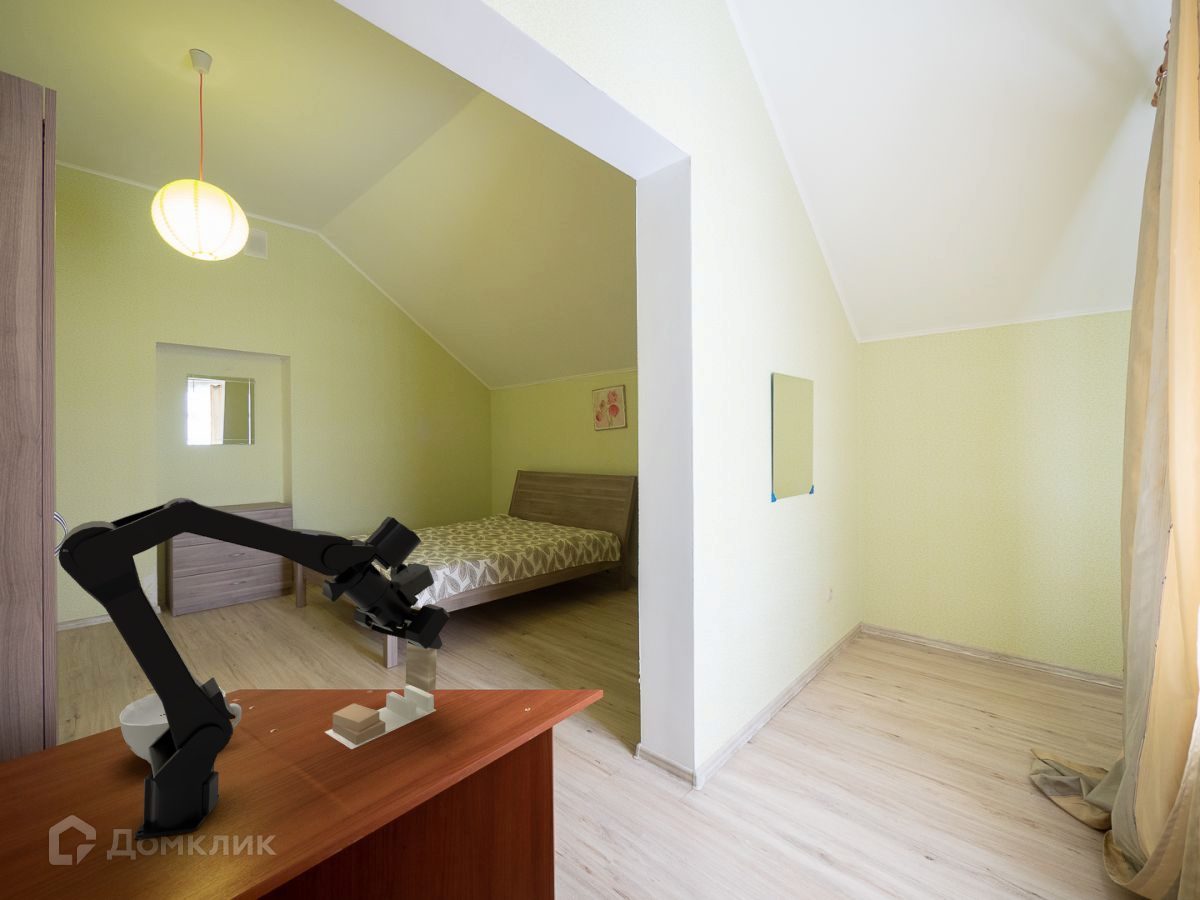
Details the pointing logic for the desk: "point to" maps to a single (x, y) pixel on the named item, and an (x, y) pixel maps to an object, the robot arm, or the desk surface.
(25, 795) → the desk surface
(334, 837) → the desk surface
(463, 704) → the desk surface
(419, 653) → the grey brown wooden board
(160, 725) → the teacup
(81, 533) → the robot arm
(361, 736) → the offcut rack
